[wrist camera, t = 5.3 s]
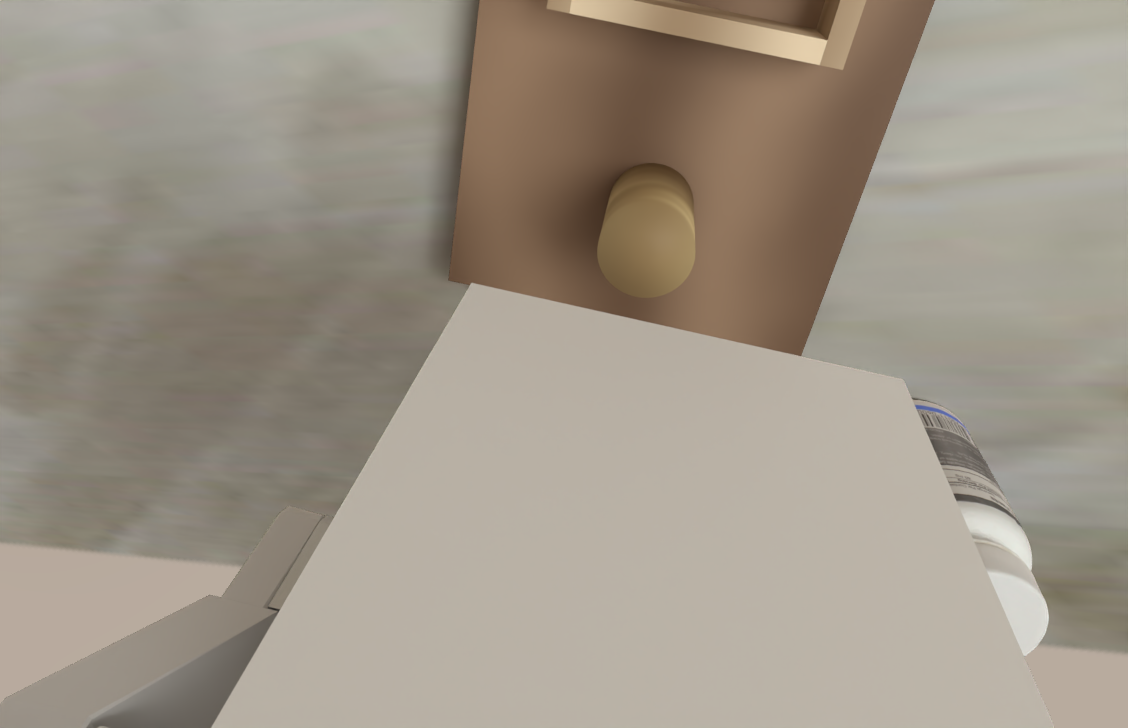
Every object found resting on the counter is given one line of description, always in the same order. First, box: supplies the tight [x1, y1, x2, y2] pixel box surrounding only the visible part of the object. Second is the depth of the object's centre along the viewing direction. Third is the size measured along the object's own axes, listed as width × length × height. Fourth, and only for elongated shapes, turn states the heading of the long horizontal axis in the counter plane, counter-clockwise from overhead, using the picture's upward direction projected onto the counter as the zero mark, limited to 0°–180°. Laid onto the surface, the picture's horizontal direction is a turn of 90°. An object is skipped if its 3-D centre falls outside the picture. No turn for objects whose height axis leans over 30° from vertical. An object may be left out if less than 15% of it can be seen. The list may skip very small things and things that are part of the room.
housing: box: [211, 283, 1055, 728], centre depth 10 cm, size 6×6×7 cm
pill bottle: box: [913, 400, 1049, 657], centre depth 26 cm, size 5×5×8 cm
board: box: [449, 0, 935, 356], centre depth 21 cm, size 12×17×5 cm
